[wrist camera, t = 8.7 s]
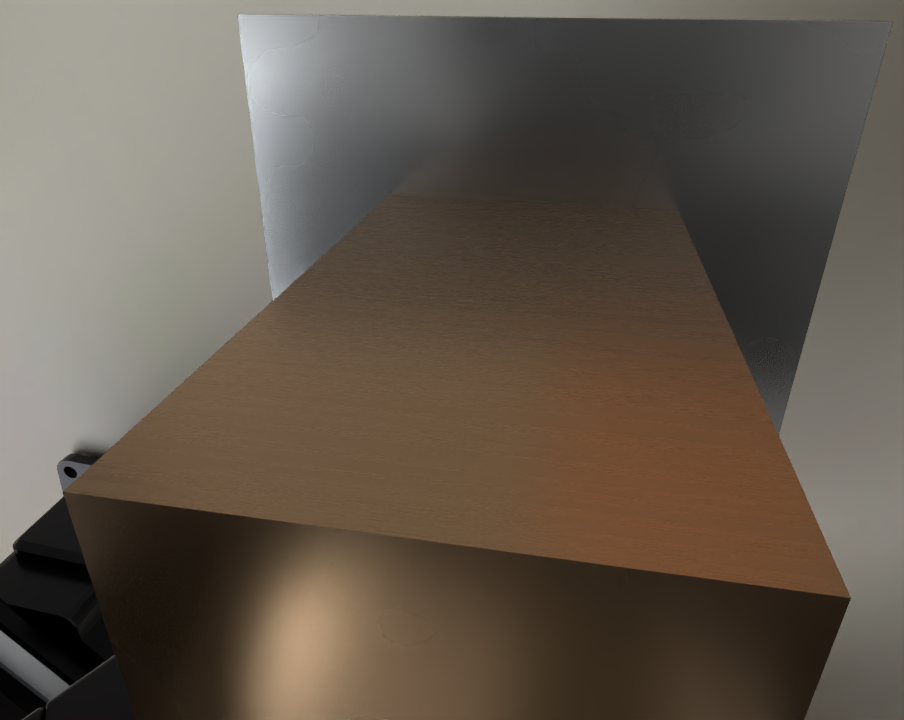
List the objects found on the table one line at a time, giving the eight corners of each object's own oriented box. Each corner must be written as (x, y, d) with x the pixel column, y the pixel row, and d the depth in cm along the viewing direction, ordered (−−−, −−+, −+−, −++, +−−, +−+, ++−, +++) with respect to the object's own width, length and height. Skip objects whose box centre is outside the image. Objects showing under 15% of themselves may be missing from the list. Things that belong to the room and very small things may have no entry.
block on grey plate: (683, 720, 13) (761, 1322, 7) (334, 662, 14) (145, 1139, 8) (864, 20, 7) (1959, 56, 1) (266, 14, 9) (-483, 16, 3)
